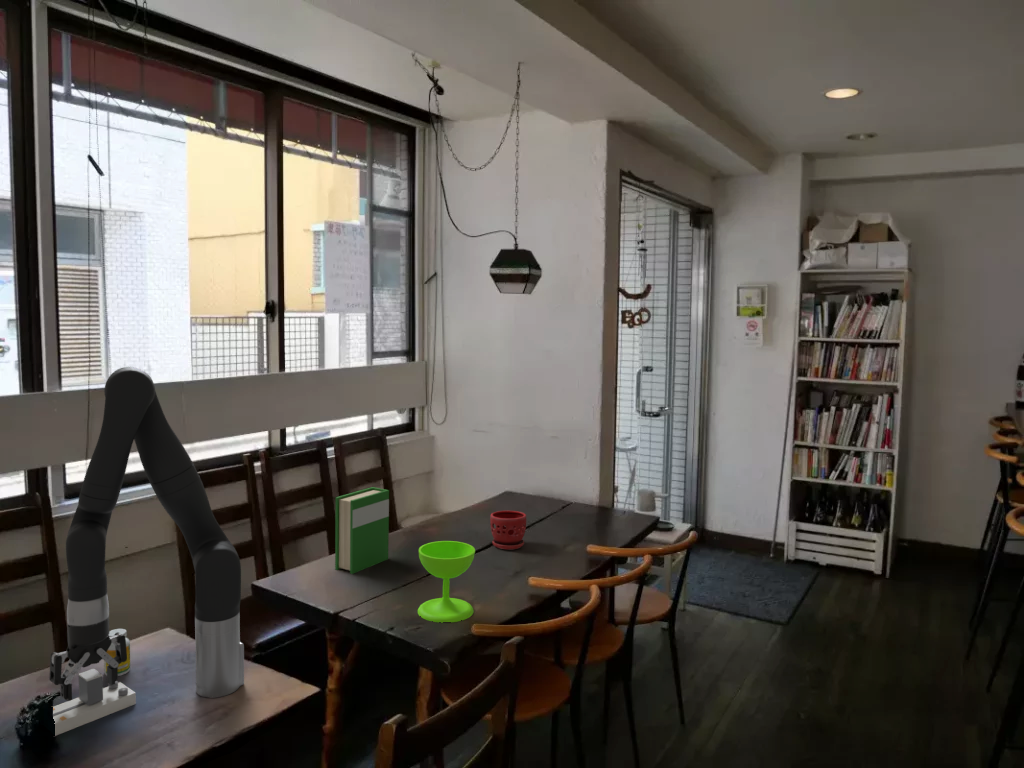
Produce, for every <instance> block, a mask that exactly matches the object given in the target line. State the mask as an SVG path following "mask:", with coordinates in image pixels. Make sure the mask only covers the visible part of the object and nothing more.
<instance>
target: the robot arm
mask: <svg viewBox="0 0 1024 768" xmlns="http://www.w3.org/2000/svg"><path fill="white" fill-rule="evenodd" d="M103 390H104V391H103V392H104V399H105V400H104V410H103V419H102V424H101V428H100V433H99V435H98V439H97V441H96V442H97V443H96V445H95V448H94V450H93V452H92V455H91V457H90V461H89V462H88V466H87V468H86V471H85V475H84V477H83V478H84V479H83V482H82V485H81V489H80V491H79V496H78V501H77V503H78V505H77V506H76V510H75V512H74V515H73V516H72V517H73V518H72V521H71V523H70V526H69V529H68V533H67V537H66V540H65V556H66V566H67V572H68V577H67V606H66V607H67V608H66V619H67V620H66V623H67V624H66V625H67V626H66V627H67V648H66V651H61V652H56V651H54V652H52V653H50V655H49V677H48V678H49V679H48V680H49V682H52V683H53V685H55V686H59V685H60V696H61V698H62V699H63V700H65V701H66V702H67V701H71V700H73V684H72V681H73V679H74V677H75V676H76V675H77V674H79V672H80V670H81V668H87V667H90V666H91V665H95V664H99V663H100V661H102V660H103V662H104V661H105V662H106V663H108V664H109V666H107V675H106V682H107V683H108V685H109V684H110V685H114V684H115V681H118V679H119V676H118V665H119V664H120V663H122V662H125V661H126V660H127V651H126V639H125V636H124V635H122V634H121V633H119V632H117V633H115V635H114V636H112V637H109V631H110V604H109V603H110V602H109V598H108V578H107V575H108V574H107V570H106V547H107V546H106V544H107V534H108V529H109V525H110V522H111V517H112V514H113V511H114V509H115V507H116V505H117V503H118V500H119V496H120V493H121V489H122V486H123V483H124V479H125V476H126V471H127V467H128V463H129V459H130V458H129V457H130V455H131V450H132V446H133V443H135V447H136V449H137V453H138V456H139V459H140V462H141V465H142V467H143V470H144V473H145V475H146V478H147V480H148V481H149V484H150V486H151V488H152V490H153V491H154V494H155V496H156V498H157V499H158V501H159V502H160V504H161V506H162V508H163V509H164V510H165V511H166V513H167V514H168V515H169V517H170V518H171V519H172V521H174V523H175V524H176V526H177V527H178V528H179V531H180V532H181V533H182V536H183V537H184V540H185V543H186V544H187V547H188V551H189V553H190V556H191V560H192V564H193V568H194V575H195V577H194V578H195V583H194V584H195V604H194V627H195V628H194V631H195V632H194V633H195V634H194V635H195V637H194V638H195V639H194V640H195V641H194V642H195V686H196V687H195V691H196V694H198V696H201V697H203V698H213V699H214V698H222V697H226V696H228V695H230V694H233V693H235V692H236V691H238V689H239V688H240V687H241V686H243V685H244V684H245V645H244V643H243V642H242V641H241V636H240V635H241V632H240V630H241V629H240V628H241V627H240V625H241V623H240V620H241V619H240V618H241V617H240V616H241V615H240V610H241V609H240V605H241V599H242V565H241V559H240V557H239V554H238V552H237V550H236V548H235V546H234V544H232V543H231V541H230V540H229V538H228V537H227V535H226V533H225V532H224V531H223V529H222V527H221V526H220V524H219V522H218V521H217V518H216V517H215V515H214V513H213V511H212V508H211V504H210V501H209V497H208V493H207V492H206V489H205V486H204V484H203V481H202V479H201V477H200V474H199V472H198V470H197V468H196V466H195V465H194V462H193V460H192V458H191V457H190V455H189V453H188V452H187V450H186V448H185V447H184V445H183V444H182V442H181V440H180V438H178V435H177V434H176V433H175V432H174V430H173V428H172V427H171V425H170V424H169V422H168V420H167V418H166V416H165V413H164V411H163V409H162V406H161V402H160V401H159V397H158V394H157V392H156V388H155V383H154V381H153V379H152V377H151V376H150V375H149V374H148V373H147V372H146V371H145V370H143V369H141V368H138V367H134V366H124V367H123V366H122V367H120V368H117V369H116V370H115V371H114V372H112V373H111V374H110V375H109V376H108V378H107V380H106V382H105V384H104V389H103ZM111 643H113V645H115V650H116V657H114V658H112V657H111V656H110V655H109V654H108V653H106V652H107V650H108V649H109V647H110V645H111ZM67 658H68V659H69V660H68V661H67V663H66V664H65V665H64V666H65V667H64V670H63V672H62V669H63V667H62V665H63V664H64V663H65V660H66V659H67Z"/></svg>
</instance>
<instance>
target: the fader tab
mask: <svg viewBox="0 0 1024 768" xmlns="http://www.w3.org/2000/svg"><path fill="white" fill-rule="evenodd" d="M77 674H78V697H79V699H80V700H81V701H82V702H83V703H85V704H86V705H87V706H89V705H92V704H94V703H97V702H99V701H102V700H103V688H104V685H103V681H104V679H103V674H102V673H101V672H99V671H98V670H97V669H95V668H91V669H88V670H86V671H82V672H80V673H79V672H78V673H77Z"/></svg>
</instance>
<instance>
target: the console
mask: <svg viewBox="0 0 1024 768" xmlns="http://www.w3.org/2000/svg"><path fill="white" fill-rule="evenodd" d="M136 696H137V694H136V692H135V691H134V690H132V689H131V688H129V687H128V686H126V685H125V684H124V683H122V682H121V681H118V680H117V681H115V684H114V685H110V684H108V686H106V687H103V700H102V701H99V702H97V703H94V704H92V705H89V706H87V705H86V704H85V703H83V702H82V701H81V700H80V699H79V696H78V697H76V698H72V700H71V701H67V700H66V701H65V702H62V703H60V704H57V705H54V706H52V707H53V719H54V721H55V723H54V724H55V736H54V737H57V736H58V735H61V734H63V733H66V732H68V731H71V730H74V729H76V728H79V727H81V726H84V725H86V724H89V723H91V722H94V721H96V720H98V719H101V718H103V717H106V716H109V715H110V714H114V713H117V712H119V711H121V710H124V709H126V708H130V707H131V706H134V705H136V704H137V701H136V700H137V697H136Z"/></svg>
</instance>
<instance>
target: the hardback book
mask: <svg viewBox="0 0 1024 768" xmlns="http://www.w3.org/2000/svg"><path fill="white" fill-rule="evenodd" d="M334 512H335V515H334V517H335V518H334V519H335V520H334V521H335V523H334V525H335V526H334V527H335V529H334V530H335V531H334V532H335V537H334V538H335V539H334V542H335V543H334V544H335V545H334V546H335V548H334V549H335V550H334V551H335V553H334V554H335V555H334V557H335V558H334V565H335V566H334V570H337V571H338V570H342V569H343V570H346V571H349V574H350V575H354V574H355V573H358V572H360V571H363V570H365V569H368V568H371V567H372V566H375V565H377V564H380V563H382V562H384V561H388V560H389V534H390V531H389V529H390V528H389V527H390V525H389V524H390V523H389V522H390V520H389V519H390V518H389V517H390V513H389V512H390V489H386V488H385V489H384V488H380V487H375V486H374V487H373V486H371V487H368V488H363V489H360V490H357V491H353V492H350V493H347V494H343V495H340V496H336V497H335V510H334Z"/></svg>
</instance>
